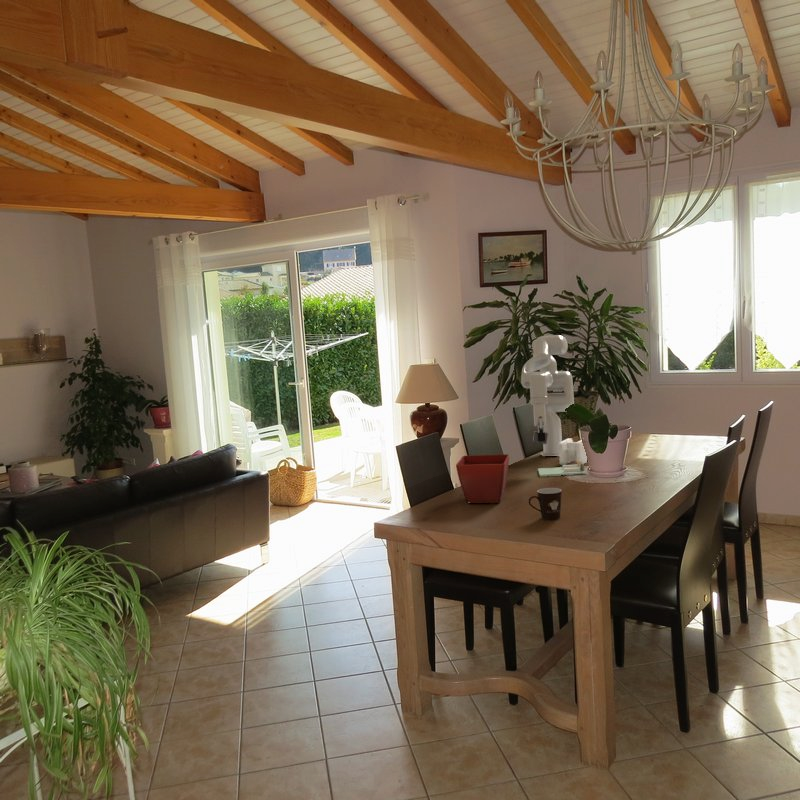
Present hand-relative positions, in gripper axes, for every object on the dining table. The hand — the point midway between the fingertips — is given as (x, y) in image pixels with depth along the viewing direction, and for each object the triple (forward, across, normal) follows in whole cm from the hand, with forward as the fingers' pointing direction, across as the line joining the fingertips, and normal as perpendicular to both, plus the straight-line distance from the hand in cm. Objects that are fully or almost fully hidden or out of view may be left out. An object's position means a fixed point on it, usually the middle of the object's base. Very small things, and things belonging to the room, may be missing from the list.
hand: (541, 440), depth 350 cm
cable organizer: (+16, -18, +15) cm, 28 cm away
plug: (+1, 0, -1) cm, 1 cm away
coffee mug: (+16, +77, -2) cm, 79 cm away
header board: (+15, +1, +8) cm, 17 cm away
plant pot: (+16, +47, -25) cm, 55 cm away
